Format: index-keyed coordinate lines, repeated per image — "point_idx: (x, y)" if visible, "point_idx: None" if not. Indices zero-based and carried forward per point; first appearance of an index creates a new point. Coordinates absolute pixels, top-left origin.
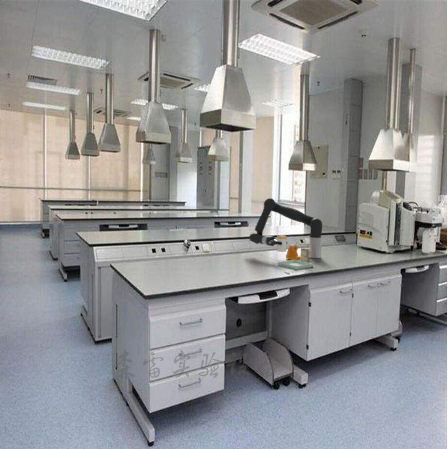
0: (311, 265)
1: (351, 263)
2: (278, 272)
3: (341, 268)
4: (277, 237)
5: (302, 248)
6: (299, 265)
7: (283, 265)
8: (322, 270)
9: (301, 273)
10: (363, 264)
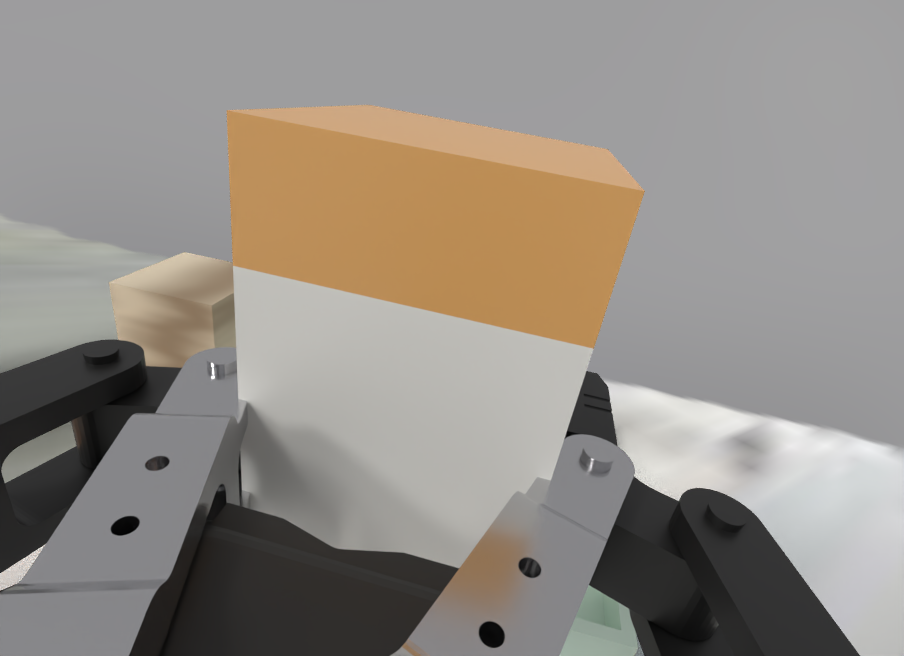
0: None
1: (21, 265)
2: (827, 504)
3: None
4: (605, 296)
5: (224, 293)
6: None
7: None
8: None
9: (639, 388)
10: (47, 238)
